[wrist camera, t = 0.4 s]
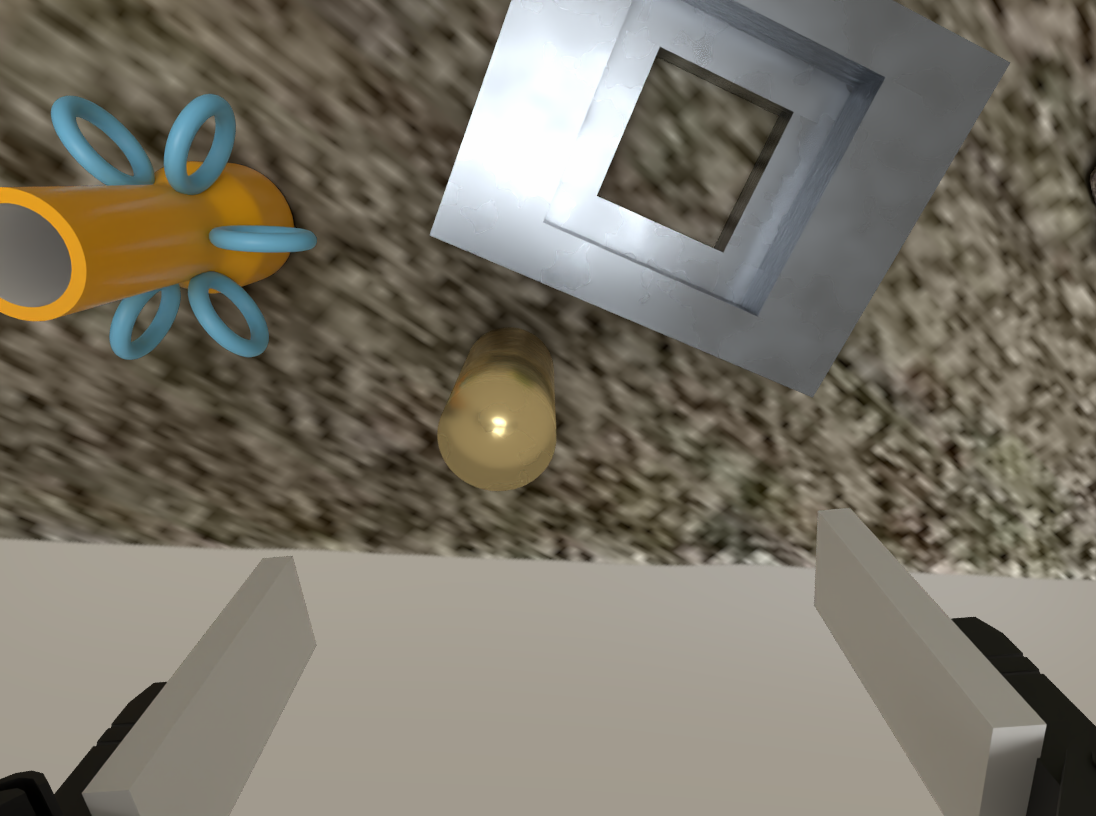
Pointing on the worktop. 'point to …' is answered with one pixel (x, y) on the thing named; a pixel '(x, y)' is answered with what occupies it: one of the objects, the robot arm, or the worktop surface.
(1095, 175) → the mineral rock
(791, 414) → the worktop surface
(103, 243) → the cylinder
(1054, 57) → the worktop surface
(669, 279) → the jig
